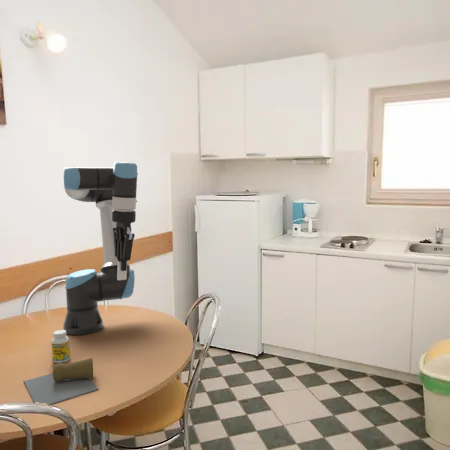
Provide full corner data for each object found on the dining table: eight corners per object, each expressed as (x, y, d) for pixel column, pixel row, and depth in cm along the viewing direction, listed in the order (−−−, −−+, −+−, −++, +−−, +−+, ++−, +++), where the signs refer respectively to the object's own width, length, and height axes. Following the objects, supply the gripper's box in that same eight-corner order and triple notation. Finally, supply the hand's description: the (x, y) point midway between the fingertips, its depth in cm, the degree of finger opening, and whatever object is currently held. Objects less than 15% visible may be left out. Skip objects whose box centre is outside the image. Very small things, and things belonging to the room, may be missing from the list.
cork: (91, 370, 117) (50, 375, 114) (93, 383, 120) (53, 388, 117) (91, 353, 122) (52, 358, 119) (93, 366, 125) (55, 371, 122)
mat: (23, 382, 119) (23, 381, 119) (78, 366, 128) (78, 365, 128) (37, 408, 104) (37, 407, 104) (98, 389, 114) (98, 388, 114)
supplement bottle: (71, 355, 137) (69, 328, 136) (68, 362, 132) (67, 334, 131) (54, 357, 136) (52, 329, 135) (51, 364, 131) (49, 335, 130)
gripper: (143, 212, 129) (140, 283, 132) (127, 207, 139) (124, 273, 143) (120, 212, 124) (118, 286, 128) (105, 207, 135) (104, 275, 138)
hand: (121, 279), depth 135 cm, fingers closed
